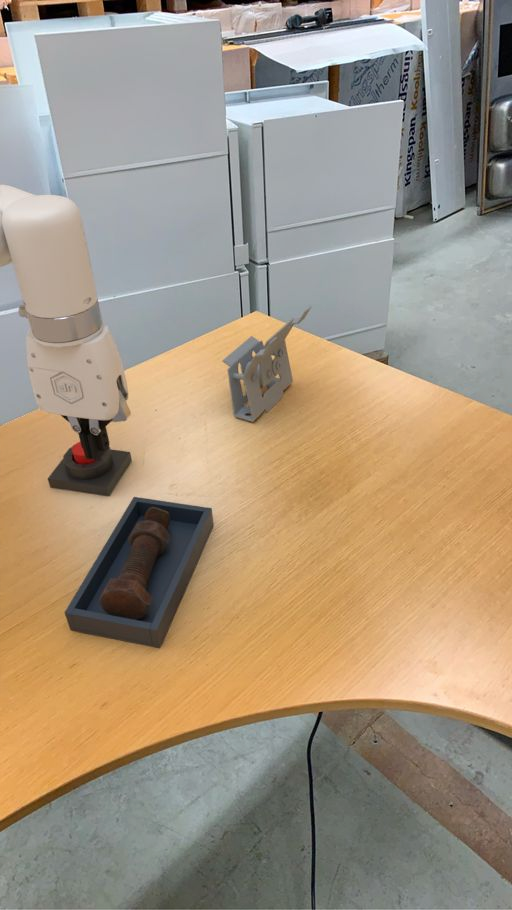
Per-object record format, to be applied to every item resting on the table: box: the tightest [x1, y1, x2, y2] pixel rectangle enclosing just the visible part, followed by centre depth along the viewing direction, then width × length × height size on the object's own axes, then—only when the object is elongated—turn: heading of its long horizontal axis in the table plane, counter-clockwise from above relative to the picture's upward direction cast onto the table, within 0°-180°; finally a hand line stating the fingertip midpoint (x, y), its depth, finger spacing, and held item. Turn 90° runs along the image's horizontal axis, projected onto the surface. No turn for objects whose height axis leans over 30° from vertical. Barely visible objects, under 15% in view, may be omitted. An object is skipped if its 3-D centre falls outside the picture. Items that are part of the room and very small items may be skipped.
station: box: [47, 444, 133, 497], centre depth 92 cm, size 9×8×4 cm
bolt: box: [99, 507, 170, 620], centre depth 76 cm, size 6×5×15 cm
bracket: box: [222, 305, 313, 423], centre depth 102 cm, size 13×10×15 cm
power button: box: [72, 441, 96, 465], centre depth 91 cm, size 4×4×2 cm
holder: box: [64, 496, 214, 649], centre depth 77 cm, size 11×19×3 cm, turn 166°
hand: (97, 453), depth 82 cm, fingers closed
